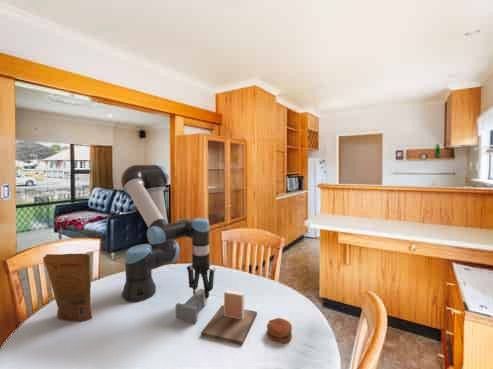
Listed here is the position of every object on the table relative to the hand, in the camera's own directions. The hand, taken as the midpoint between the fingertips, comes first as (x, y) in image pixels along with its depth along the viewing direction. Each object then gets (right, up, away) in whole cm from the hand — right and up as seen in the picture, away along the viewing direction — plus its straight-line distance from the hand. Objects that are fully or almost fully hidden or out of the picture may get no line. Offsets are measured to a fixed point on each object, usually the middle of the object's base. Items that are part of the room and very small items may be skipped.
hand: (201, 303), depth 113 cm
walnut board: (+14, -2, -14) cm, 20 cm away
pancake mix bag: (-51, -2, -10) cm, 52 cm away
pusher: (-1, -1, -4) cm, 5 cm away
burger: (+33, -2, -20) cm, 38 cm away
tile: (+16, 0, -11) cm, 19 cm away
